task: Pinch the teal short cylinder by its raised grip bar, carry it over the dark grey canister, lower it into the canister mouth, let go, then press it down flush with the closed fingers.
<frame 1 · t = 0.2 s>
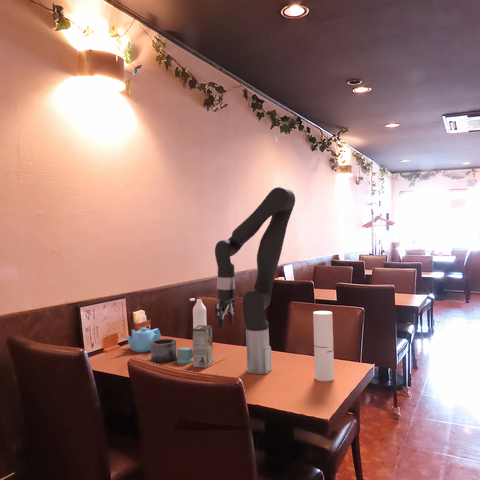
hand: (225, 325, 178), 17 cm above the table, tool pointing down, fingers open, 8 cm apart
water bottle: (198, 350, 206), on the table
dark grey canister: (163, 359, 192), on the table
cylindrical container: (324, 378, 161), on the table
teapot: (144, 349, 211), on the table
coffee box: (203, 364, 183), on the table
teal short cylinder: (185, 362, 187), on the table
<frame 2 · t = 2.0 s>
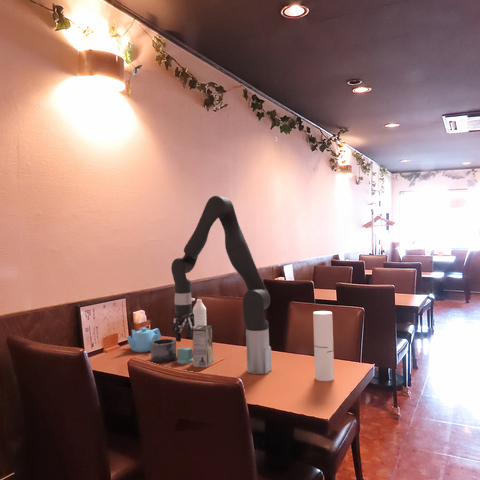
hand: (183, 339, 187), 10 cm above the table, tool pointing down, fingers open, 8 cm apart
nothing on the table moved.
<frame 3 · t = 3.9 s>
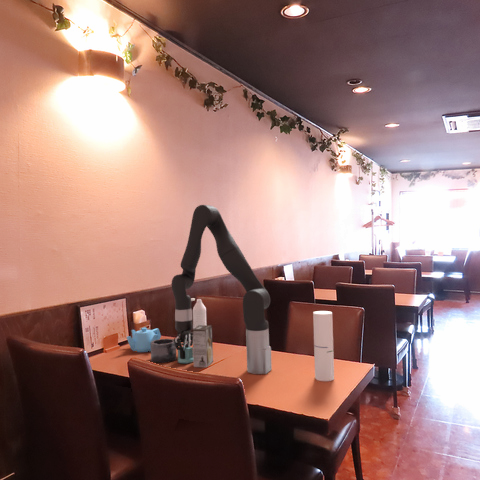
hand: (185, 357, 187), 2 cm above the table, tool pointing down, fingers closed on teal short cylinder, 3 cm apart
teal short cylinder: (185, 361, 187), on the table, touching gripper
everything else where it was.
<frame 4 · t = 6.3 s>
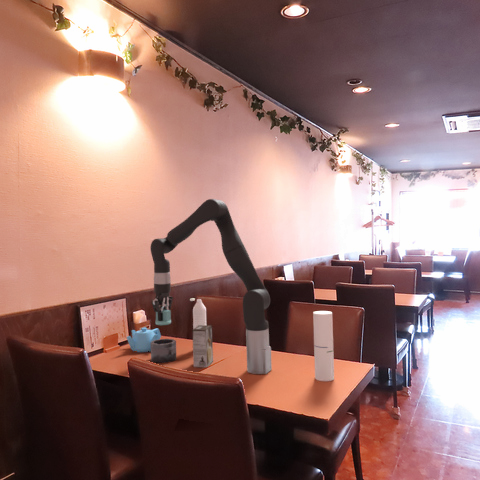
hand: (162, 319, 192), 18 cm above the table, tool pointing down, fingers closed on teal short cylinder, 3 cm apart
teal short cylinder: (163, 323, 192), point 16 cm above the table, touching gripper
everything else where it was.
when the fingers open (9 cm above the table, at t = 9.0 s): teal short cylinder stays where it is, resting on dark grey canister.
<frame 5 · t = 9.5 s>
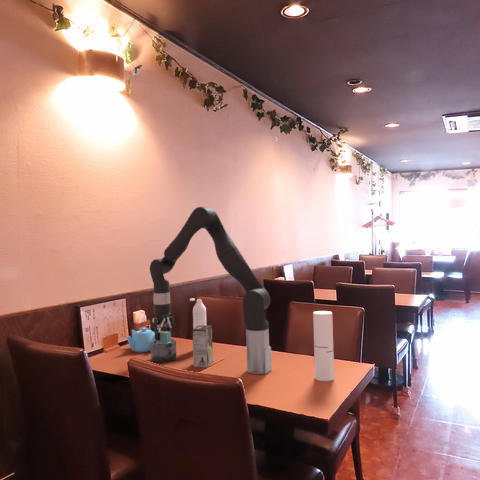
hand: (163, 338, 192), 10 cm above the table, tool pointing down, fingers open, 7 cm apart
teal short cylinder: (163, 345, 192), point 6 cm above the table, touching dark grey canister
everything else where it was.
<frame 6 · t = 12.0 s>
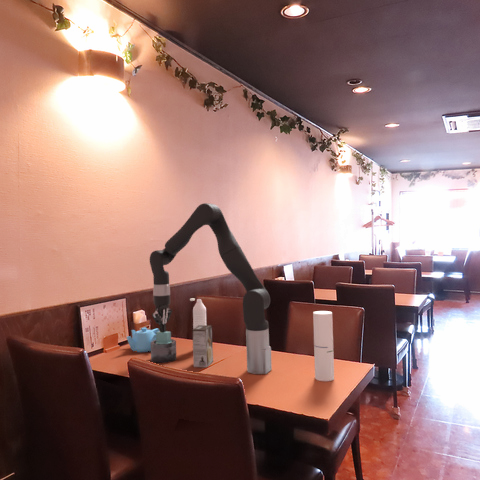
hand: (162, 331, 192), 12 cm above the table, tool pointing down, fingers closed
teal short cylinder: (163, 345, 192), point 6 cm above the table, touching gripper, dark grey canister
everything else where it was.
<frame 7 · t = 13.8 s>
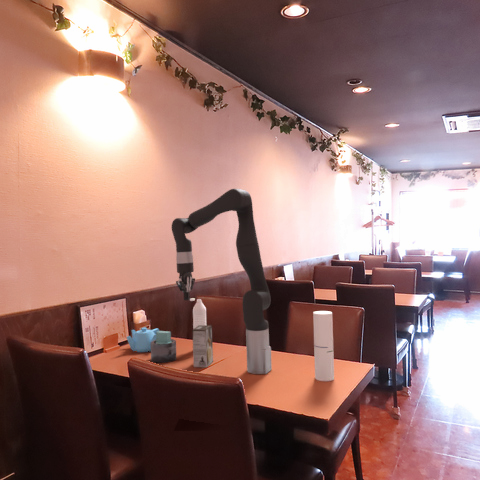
hand: (187, 300, 191), 27 cm above the table, tool pointing down, fingers closed
teal short cylinder: (163, 345, 192), point 6 cm above the table, touching dark grey canister
everything else where it was.
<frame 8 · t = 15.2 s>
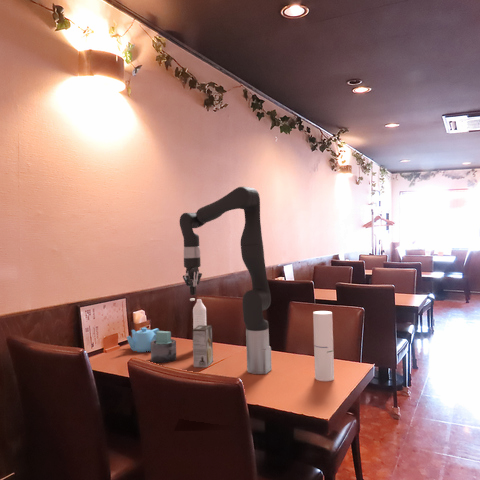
hand: (193, 294, 192), 29 cm above the table, tool pointing down, fingers closed
nothing on the table moved.
at the end: teal short cylinder 0.2 cm off-centre on the dark grey canister, point 6.5 cm above the dark grey canister's base; teal short cylinder tilted 0°; the gripper is holding nothing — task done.
